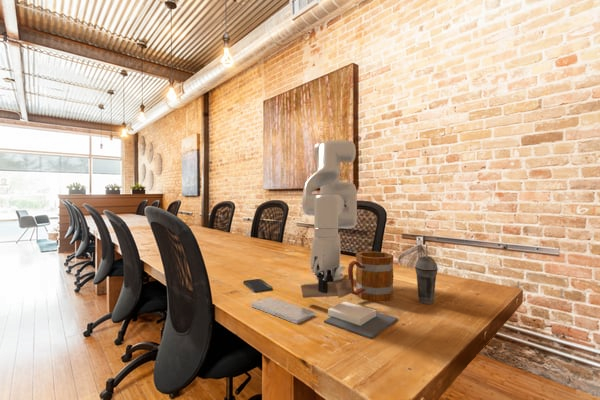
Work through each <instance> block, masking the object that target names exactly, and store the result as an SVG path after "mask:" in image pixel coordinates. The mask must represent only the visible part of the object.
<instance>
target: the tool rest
mask: <svg viewBox="0 0 600 400" xmlns="http://www.w3.org/2000/svg"><path fill="white" fill-rule="evenodd" d="M251 308H254V309H257V310H260V311H262V312H265V313H267V314H269V315H272V316H274V317H278V318H280V319H283V320H285V321H288V322H290V323H293V324H295V325H298V324H300V323H302V322H304V321H306V320H309V319H310V318H314V317H315V316H316V315H315V313H316V312H315V311H313V310H310V309H307V308H304V307H302V306H298V305H295V304H292V303H289V302H287V301H284V300H281V299H277V298H274V297H271V296H268V297H266V298H263V299H259V300H257V301H254V302H251Z"/></svg>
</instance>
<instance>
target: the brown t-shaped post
mask: <svg viewBox="0 0 600 400" xmlns="http://www.w3.org/2000/svg"><path fill="white" fill-rule="evenodd" d="M300 289H301V295H302V298H304V299H306V298H327V297H329V298H330V297H338V298H339V299H340V298H344V297H345V296H348V295H352V294H351V293H353V291H352V286H351V281H350V279H349V278H347V279H346V280H345V279H344V280H338V281H334V282H327V293H322V292H319V291H318V282H315V283H314V282H311V283H304V284H301V285H300Z"/></svg>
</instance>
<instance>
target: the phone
mask: <svg viewBox="0 0 600 400" xmlns="http://www.w3.org/2000/svg"><path fill="white" fill-rule="evenodd" d="M242 283H243V284H244V285H245V286H246V287H247V288H248V289H249V290H250V291H251V292H252V293H256V294H257V293H263V292H269V291H273V290H274V289H273V287H272V286H271V285H269V283H267V282H266V281H264V280H262V279H261V278H255V279H247V280H243V282H242Z"/></svg>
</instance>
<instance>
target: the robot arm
mask: <svg viewBox="0 0 600 400" xmlns="http://www.w3.org/2000/svg"><path fill="white" fill-rule="evenodd" d="M356 154H357V151H356V145H355V143H354V142H353V141H352V140H328V141H320V142H318V143H316V144H314V146H313V155H314V158H315V162H316V164H317V167H316V172H314V173H313V174H312V175H311V176H310V177H309V178H308V179H307V180H306V182H305V184H304V185H303V191H302V200H301V208H302V211H303V214H305V215H306V216H311V217H313V216H314V217H313V219H314V223H313V224H314V227H313V228H314V229H313V230H314V232H313V233H314V234H313V238H312V241H311V242H312V243H311V248H310V259H309V261H310V262H309V263H310V265H309V266H310V269H311V270H312V271H311V273H312V275H314V276H315V278H316V279H317V280H318V282H317V283H318V291H319V292H322V293H327V282H336V281H343V279H344V278H345V277H344V276H345V275H344V274H343V273H342V271H344V270H346V267H345V265H341V237H340V235H339V229H353V228H355V227H356V226H357V221H358V220H357V218H358V214H357V213H358V209H357V208H358V203H357V202H358V201H357V200H358V199H357V198H358V194H357V187H356V184H354V183H353V182H346V181H345V182H343V181H340V173H341V171H340V169H341V167H340V166H341V165H340V163H353V162H354V161H355V159H356V156H357V155H356ZM318 188H320V190H319V191H320V193H313V192H314V191H315V190H318ZM345 205H346V206H345Z"/></svg>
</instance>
